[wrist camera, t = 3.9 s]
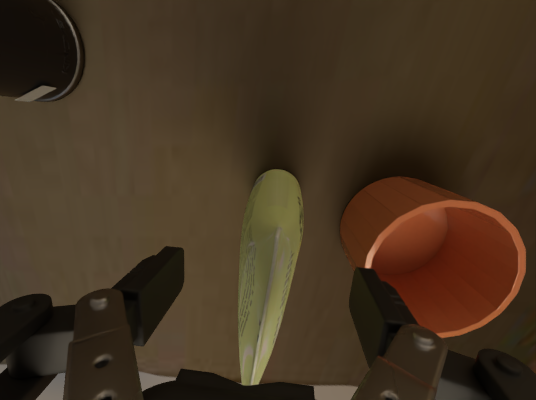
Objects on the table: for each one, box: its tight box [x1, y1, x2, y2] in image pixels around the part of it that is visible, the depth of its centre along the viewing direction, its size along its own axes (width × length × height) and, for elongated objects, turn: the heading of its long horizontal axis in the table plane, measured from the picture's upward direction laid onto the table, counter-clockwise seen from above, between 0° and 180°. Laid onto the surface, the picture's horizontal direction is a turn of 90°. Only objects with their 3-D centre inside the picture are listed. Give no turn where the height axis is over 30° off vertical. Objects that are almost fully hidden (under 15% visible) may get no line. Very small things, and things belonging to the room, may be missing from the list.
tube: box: [238, 169, 303, 386], centre depth 18 cm, size 6×5×20 cm
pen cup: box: [340, 177, 526, 338], centre depth 23 cm, size 11×11×9 cm
